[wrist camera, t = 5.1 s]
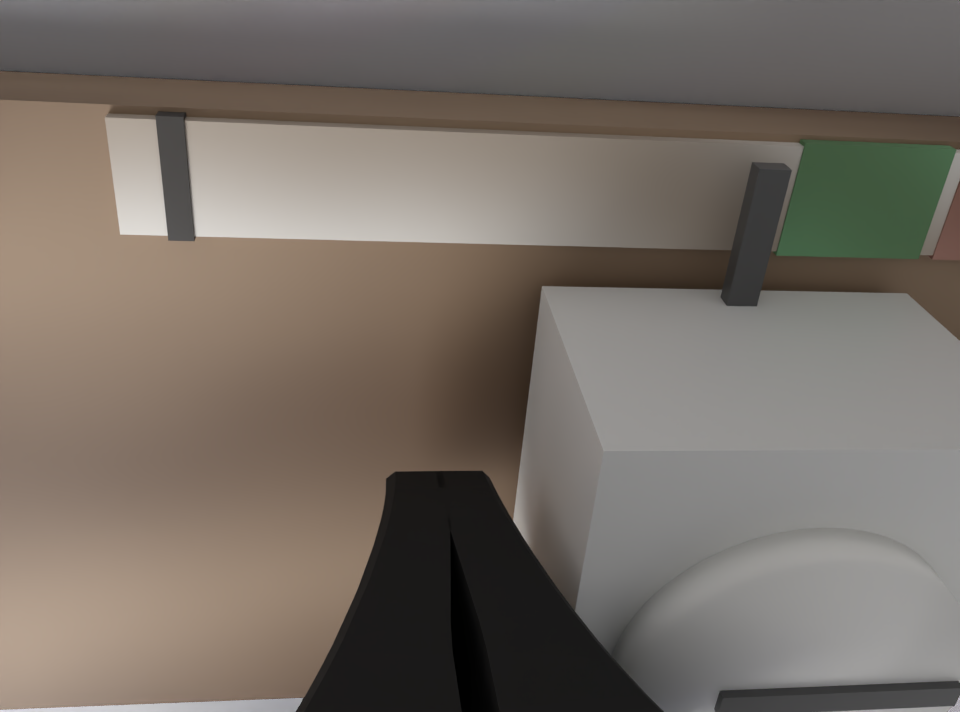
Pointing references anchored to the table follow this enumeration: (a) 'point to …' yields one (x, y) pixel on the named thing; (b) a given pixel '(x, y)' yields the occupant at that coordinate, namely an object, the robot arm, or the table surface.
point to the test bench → (343, 330)
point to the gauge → (752, 485)
